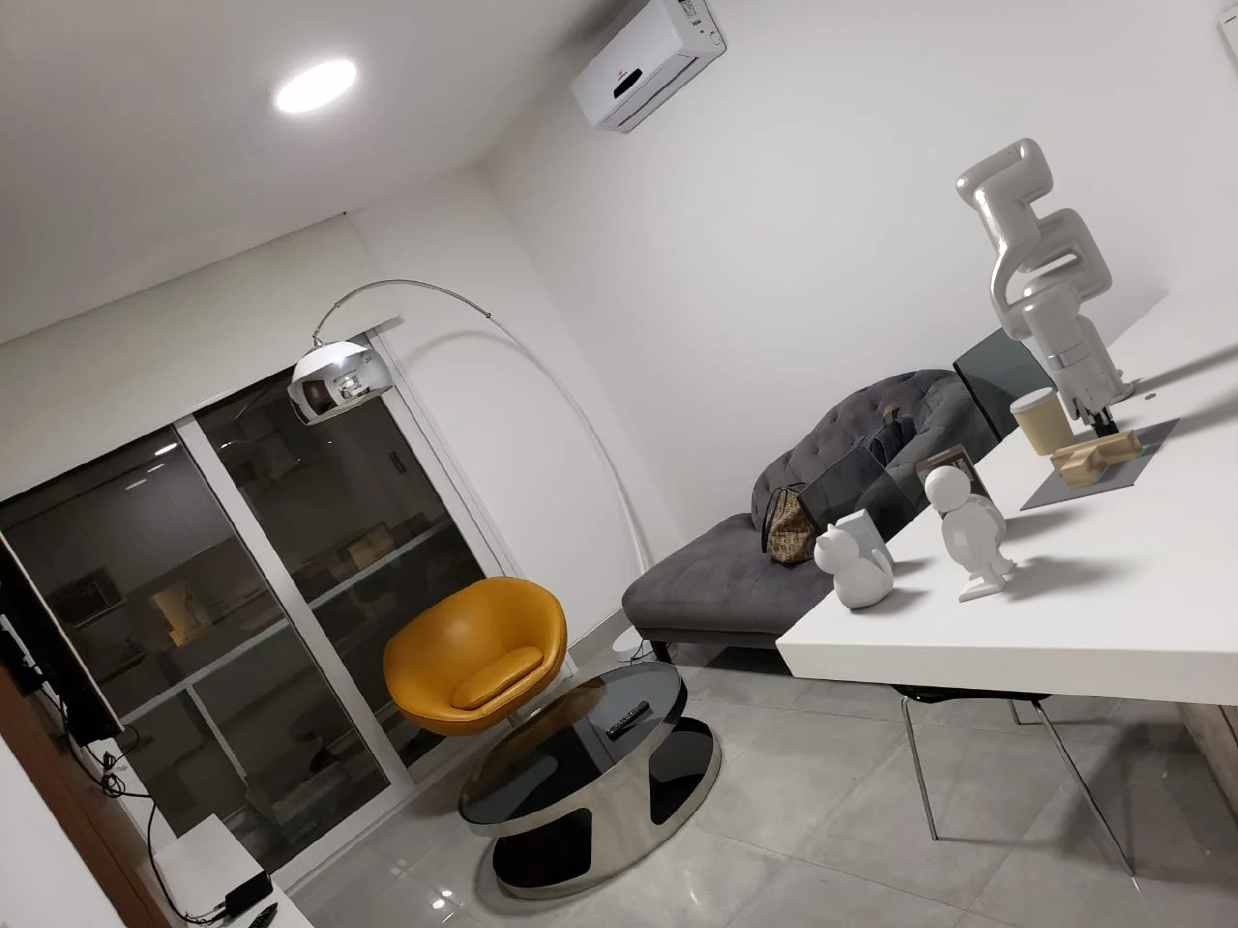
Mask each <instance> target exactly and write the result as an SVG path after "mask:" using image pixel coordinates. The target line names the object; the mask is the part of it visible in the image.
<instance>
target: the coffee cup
mask: <svg viewBox="0 0 1238 928" xmlns="http://www.w3.org/2000/svg"><path fill="white" fill-rule="evenodd" d="M1057 393H1058V392H1057V390H1056V389H1054V388H1053V387H1051V386H1050V387H1048V386H1047V387H1044V388H1041V389H1037V390H1034V391H1032V392H1029V393H1027V394H1025V395H1024V396H1021V397H1020V398H1018V399H1016V400H1015V401H1013V402H1012V403H1011V404H1010V406H1009V410H1010V413H1011V414H1012V415H1013V416H1014V419H1015V420H1016V422H1017V424H1018V425H1019V426H1020V429H1021V430H1022V432H1023V434H1024V435H1025V437H1026V438H1027V441H1029V443H1030V444H1031V446H1032V448H1033V450H1034V451H1035V454H1037V456H1038V455H1039V457H1046V456H1050V455H1053V454H1054V453H1055V452H1056V451H1057V450H1058V449H1062V448H1066V447H1069V446H1073V445H1074V443H1075V442H1076V440H1077V439H1076V437H1075V434H1074V432H1073V430H1072V426H1071V425H1070V422H1069V420H1068V417H1067V415H1066V413H1065V410H1064V408H1063V406H1062V403H1061V401H1060V399H1059V397H1058V395H1057Z"/></svg>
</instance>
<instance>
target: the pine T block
mask: <svg viewBox="0 0 1238 928" xmlns="http://www.w3.org/2000/svg"><path fill="white" fill-rule="evenodd" d="M1134 430H1135V429H1133V428H1131V429H1127V430H1124V431H1119V432H1120V433H1117V434H1113V435H1109V436H1106V437H1102V438H1098V437H1097V438H1095V439H1091V440H1089V441H1084V442H1080V443H1078V444H1072V445H1070V446H1069V447H1066V448H1062V449H1058V450H1057V451H1056V452H1055V453H1054V454H1051V456H1050V458H1049V461H1050V463H1051V464H1052V467H1053V468H1054V470H1056V472H1057V474H1058V476H1059V477H1062V476H1063V478H1064V480H1065V482H1066V484H1067V486H1068V488H1069V489H1070V490H1072V489H1076V488H1080V487H1084V486H1089V485H1092V484H1093V483H1094V482H1095V480H1096V479H1097V478H1098V476H1099V475H1100V474H1101V473H1102V471H1103V470H1104V469H1105V467H1106V466H1107V465H1110V464H1114V463H1118V462H1122V461H1127V460H1131V459H1135V458H1136V457H1137V456H1138V455H1139V453H1140V452H1141V451H1142V449H1143V448H1142V446H1141V444H1140V442H1139V440H1138V438H1137V436H1136V434H1135V432H1134Z"/></svg>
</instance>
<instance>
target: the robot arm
mask: <svg viewBox="0 0 1238 928" xmlns="http://www.w3.org/2000/svg"><path fill="white" fill-rule="evenodd" d="M954 185H955V190H956V193H958V195H959V197H960V198H961V200H963V201H964V203H966V204H967V205H968V206H969V207H971V208H972V209H973V210H974V211H976V212H977V214H978V216H979V219H980V221H981V222H982V225H983V227H984V229H985V231H986V234H987V236H988V239H989V240H990V242H991V245H992V247H993V249H994V251H995V253H996V259H995V263H994V265H993V267H992V270H991V275H990V278H989V285H988V287H989V288H988V289H989V298H990V301H991V304H992V307H993V310H994V312H995V314H996V316H997V318H998V320H999V323H1000V325H1001V328H1002V329H1003V331H1004V332H1005V334H1006V335H1007V336H1008V337H1009V339H1011V340H1013V341H1016V342H1021V341H1024V340H1025V341H1026V340H1027V339H1029V338H1031V337H1032V338H1034V340H1035V342H1036V344H1037V346H1038V348H1039V350H1040V352H1041V353H1042V355H1043V358H1044V359H1045V362H1046V363H1047V365H1048V367H1049V370H1050V371H1051V373H1053V378H1054V382H1055V385H1056V387H1057V390H1058V393H1059V395H1060V397H1061V400H1062V402H1063V405H1064V407H1065V409H1066V410H1067V411H1066V412H1067V413H1068V415H1069V417H1070V419H1071V420H1072V421H1074V422H1075V421H1078V420H1080V418H1081V420H1082V423H1083V424H1084V427H1087V426H1090V427H1091V428H1092V429H1093V430H1094V432H1095V435H1096V436H1097V439H1098V438H1102V437H1106V436H1109V435H1113V434H1117V433H1120V432H1121V431H1120V430H1119V429H1118V427H1117V424H1116V423H1115V420H1114V416H1113V413H1112V412H1111V409H1110V406H1112V405H1116V404H1117V403H1119V402H1122V401H1123V400H1125V399H1126V398H1129V396H1130V395H1132V394H1133V393H1134V392H1135V390H1136V388H1135V385H1134V384H1133V383H1130V382H1127V383H1125V382H1124V381H1123V380H1122V377H1123V375H1124V372H1123V370H1122V369H1119V368H1117V367H1116V366H1115V363H1114V362H1113V359H1112V358H1111V356H1110V353H1109V352H1108V350H1107V348H1106V346H1105V344H1104V342H1103V339H1102V338H1101V336H1100V334H1099V332H1098V330H1097V328H1096V326H1095V324H1094V323H1093V321H1092V320H1091V319H1090V318H1089V317H1087V316H1085V315H1083V314H1080V313H1079V312H1080V310H1081V305H1082V304H1084V303H1086V302H1089V301H1091V300H1093V299H1094V298H1097V297H1099V296H1101V295H1103V294H1105V293H1106V292H1108V291H1110V289H1111V287H1112V286H1113V276H1112V273H1111V272H1110V271H1111V270H1110V269H1109V266H1108V265H1107V264H1108V263H1106V261H1105V259H1104V257H1103V255H1102V253H1101V251H1100V249H1099V247H1098V246H1097V243H1096V241H1095V239H1094V238H1093V236H1092V233H1091V232H1090V229H1089V227H1088V225H1087V224H1086V223H1085V221H1084V219H1083V218H1082V216H1081V215H1080V214H1079V212H1077V211H1076V210H1075V209H1073V208H1071V207H1064V208H1061V209H1058V210H1056V211H1053V212H1052V213H1050V214H1048V215H1046V216H1044V217H1042V218H1038V217H1037V215H1036V212H1035V211H1034V209H1033V208H1032V204H1031V203H1033V202H1035V201H1037V200H1039V199H1041V198H1043V197H1045V196H1046V195H1048V194H1050V192H1052V190H1053V189H1054V177H1053V174H1052V171H1051V168H1050V166H1049V163H1048V161H1047V160H1046V157H1045V154H1044V152H1043V150H1042V149H1041V146H1040V145H1039V144H1038V143H1037V141H1036V140H1035V139H1033V138H1030V137H1023V138H1021V139H1019V140H1016V141H1014V142H1013V143H1011V144H1009V145H1008V146H1005V147H1004V148H1002V149H1001V150H999V151H997V152H996V153H994V154H992V155H989V156H988V157H986V158H984V159H983V160H980V161H979V162H977V163H975V164H973V165H972V166H971V167H969V168H967V169H966V170H964V172H962V173H961V174H960V175H959V176H958V177H957V179H956V181H955V184H954ZM1070 255H1073V256H1075V258H1073V259H1071V260H1068V261H1066V262H1065V263H1062V264H1060V265H1058V266H1055V267H1053V268H1051V269H1050V270H1048V271H1046V272H1045V271H1044V272H1043V273H1041V274H1039V275H1037V276H1036V277H1034V278H1032V279H1031V280H1029V281H1028V282H1026V284H1025V285H1024V287H1022V289H1021V293H1020V295H1021V296H1020V297H1021V298H1020V299H1018V300H1016V301H1014V302H1012V303H1009V300H1008V297H1007V287H1008V285H1009V282H1010V280H1011V279H1012V277H1013V275H1014V274H1015V273H1016V271H1017V272H1018V273H1019V274H1030V273H1032V272H1034V271H1037V270H1039V269H1042V268H1043V267H1045V266H1048V265H1050V264H1051V263H1054V262H1056V261H1058V260H1060V259H1062V258H1064V257H1066V256H1070Z"/></svg>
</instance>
